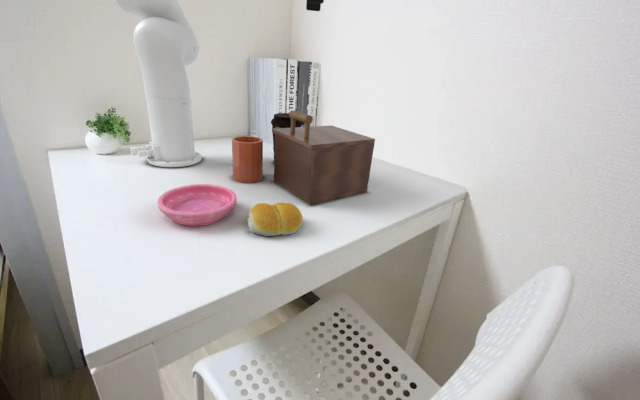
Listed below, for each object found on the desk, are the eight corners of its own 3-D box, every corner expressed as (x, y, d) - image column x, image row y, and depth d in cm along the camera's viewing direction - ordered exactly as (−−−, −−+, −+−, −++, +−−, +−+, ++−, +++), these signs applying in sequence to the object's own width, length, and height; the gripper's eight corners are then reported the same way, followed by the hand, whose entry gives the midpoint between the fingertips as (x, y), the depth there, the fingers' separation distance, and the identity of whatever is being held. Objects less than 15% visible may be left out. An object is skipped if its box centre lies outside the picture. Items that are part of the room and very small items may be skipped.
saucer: (250, 217, 53) (250, 200, 52) (177, 239, 45) (175, 220, 44) (216, 194, 61) (215, 179, 60) (149, 209, 53) (146, 192, 52)
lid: (311, 149, 55) (313, 119, 53) (271, 132, 65) (272, 107, 63) (374, 142, 64) (378, 117, 62) (331, 128, 75) (333, 106, 73)
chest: (310, 205, 60) (315, 149, 55) (273, 181, 70) (274, 132, 66) (366, 192, 69) (374, 142, 64) (326, 172, 79) (331, 128, 75)
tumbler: (240, 184, 67) (239, 144, 63) (228, 175, 72) (227, 137, 68) (267, 180, 71) (267, 141, 67) (254, 171, 75) (254, 135, 72)
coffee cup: (304, 161, 87) (307, 114, 82) (299, 170, 80) (302, 119, 74) (273, 157, 88) (275, 111, 82) (266, 166, 80) (267, 115, 75)
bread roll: (308, 234, 50) (310, 212, 48) (253, 241, 47) (252, 217, 45) (293, 212, 57) (294, 192, 55) (244, 216, 53) (243, 195, 52)
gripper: (300, -81, 66) (296, 11, 73) (301, -126, 50) (296, -3, 57) (334, -77, 67) (328, 14, 74) (346, -120, 51) (336, 1, 58)
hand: (314, 6), depth 65 cm, fingers open, 9 cm apart
